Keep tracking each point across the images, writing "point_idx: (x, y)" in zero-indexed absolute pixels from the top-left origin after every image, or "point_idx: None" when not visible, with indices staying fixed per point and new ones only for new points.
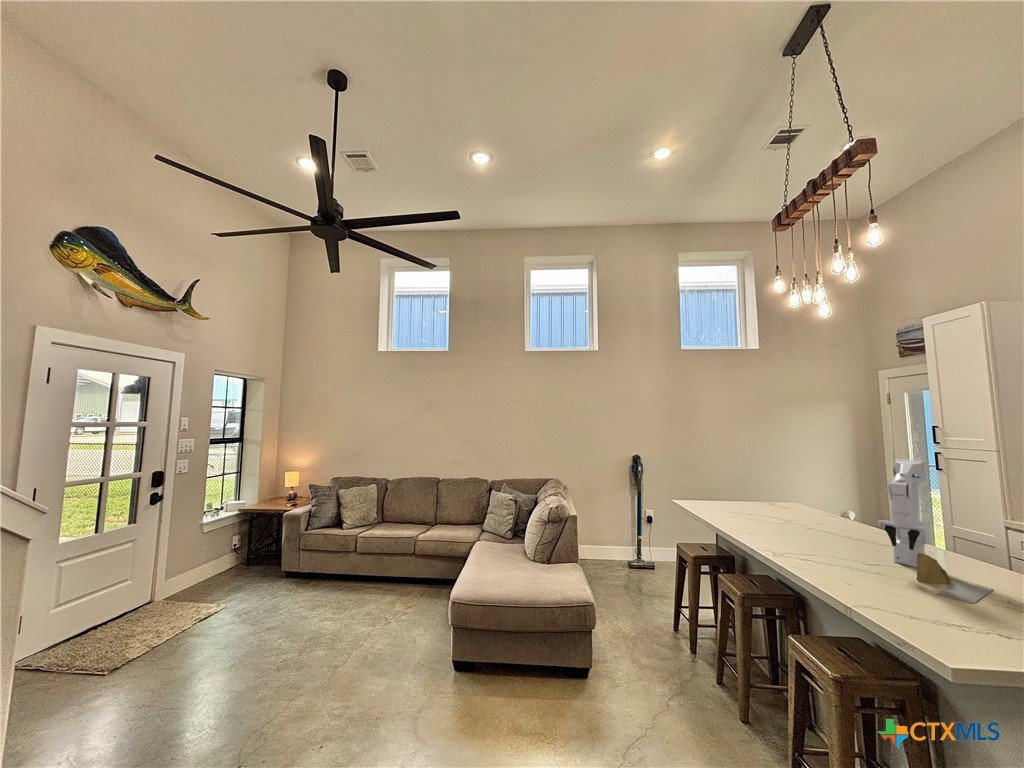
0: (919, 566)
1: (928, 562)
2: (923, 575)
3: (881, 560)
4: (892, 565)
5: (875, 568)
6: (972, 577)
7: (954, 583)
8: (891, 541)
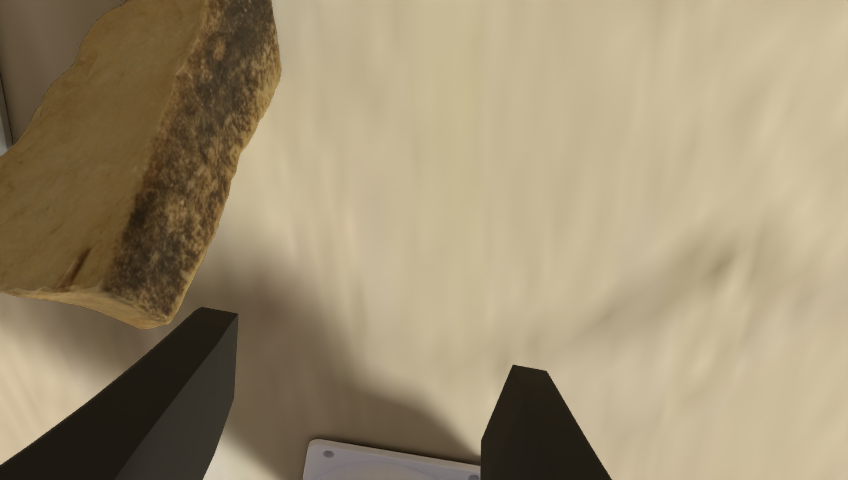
0: (169, 66)
1: (36, 169)
2: None
3: None
4: None
5: (668, 158)
6: None
7: None
8: (585, 442)
